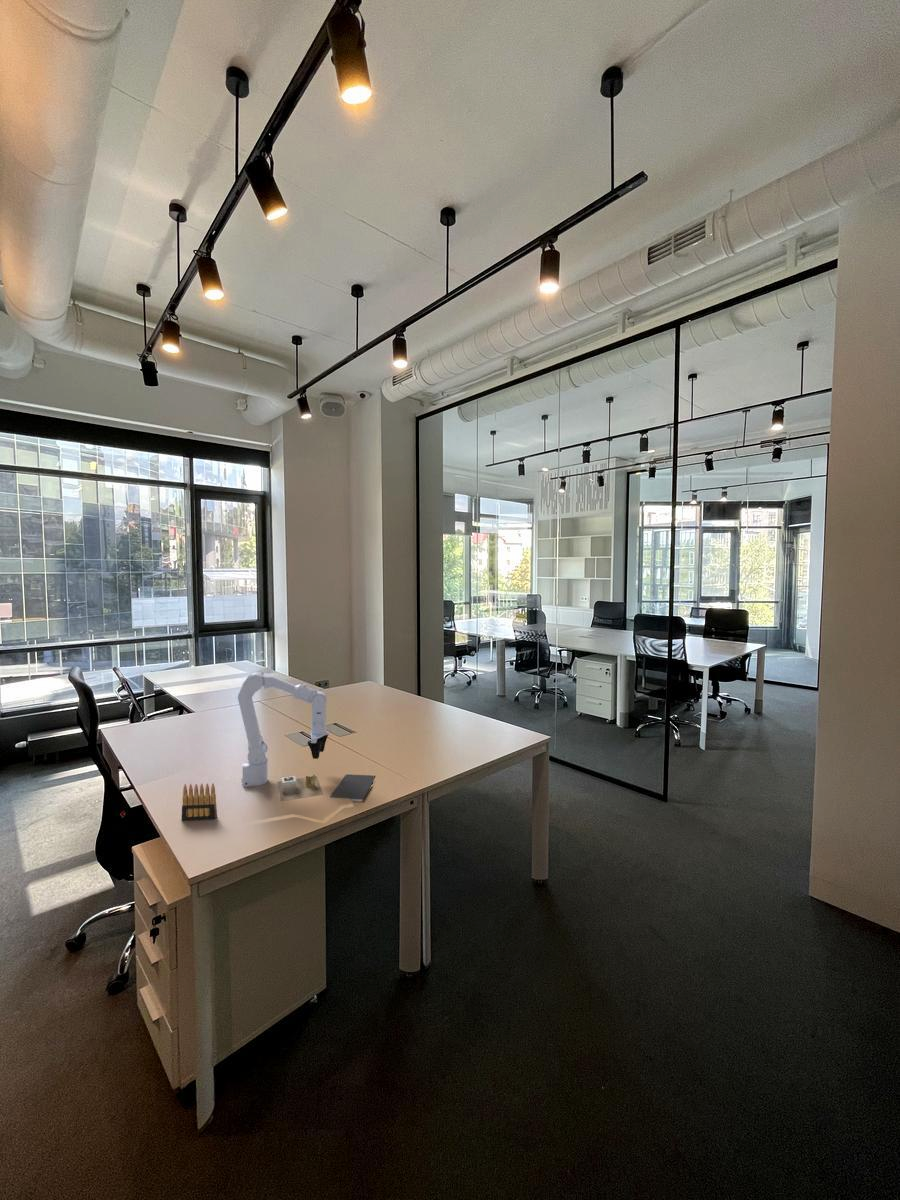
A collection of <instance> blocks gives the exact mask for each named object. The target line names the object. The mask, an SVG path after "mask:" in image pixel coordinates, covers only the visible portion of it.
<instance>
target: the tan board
mask: <svg viewBox="0 0 900 1200" xmlns="http://www.w3.org/2000/svg"><path fill="white" fill-rule="evenodd" d="M319 781H320V780H319V779H318V776H316V775H315V786H313V787H312V788H309V787H306V777H299V778H296V791H294V792H287V793H282V789H281V780H280V781H277V787H278V793H279V798H280V802H286V801H292V800H297V799H304V798H309V797H315V796H322V795H324V791H323V789H322V786H321V784H320V782H319Z"/></svg>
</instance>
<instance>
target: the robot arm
mask: <svg viewBox="0 0 900 1200" xmlns="http://www.w3.org/2000/svg"><path fill="white" fill-rule="evenodd" d="M263 686H264V687H263ZM262 687H263V689H268V688H276V689H278V690H281V691H284V692H287V693H290V694H292V697H293V698H294V699H295V700H299V701H302V702H304V703H306V704H311V708H312V709H311V712H310V713H311V714H310V715H311V719H310V721H311V725H310V729H311V731H310V737H311V738H310V740H308V741H307V745H308V748H310V752H311V757H312V759H313V760H314V759H316V760H318V759H319V758H320V753H323V752H324V751H325V748H326V742H327V739H328V737H329V735H330V734H329V731H327V709H326V708H327V696H326V693H325V692H324V691H322V690H321V689H320V690H319V689H317V688H311V687H308V686H307V684H305V683H303V684H302V683H299V684H296V685H295V684H293V683H291V682H288V681H286V680H284V679H282V678H279V677H277V676H274V675H272V674H270V673H269V672H263V671H261V670H254V671H252V672H251V673H250V674H249V675H248V676H247V677H246V679H245V681H243V683H242V685H241V688H240V690H239V693H238V695H237V700H238V701H237V702H238V705H239V710H240V714H241V717H242V718H241V719H242V721H243V726H244V730H245V733H246V734H245V735H246V739H247V751H248V753H247V760H248V761H247V762H244V763H242V777H241V783H242V788H243V787H244V788H246V787H251V786H253V787H256V786H261V785H264V784H266V783H268V782H269V781H268V780H269V779H268V777H269V776H268V775H269V774H268V771H269V769H268V768H269V767H268V766H269V765H268V762H269V761H268V758H267V756H266V754H267V752H268V745H267V744H266V742H265V741H264V739H263V736H262V735H261V731H260V727H259V726H260V725H259V721H258V718H257V712H256V710H255V705H254V701H253V697H254V695H255V693H257V692H258V691H259V690H261V689H262Z"/></svg>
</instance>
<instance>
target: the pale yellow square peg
mask: <svg viewBox="0 0 900 1200" xmlns="http://www.w3.org/2000/svg"><path fill="white" fill-rule="evenodd" d="M315 776H316V774H314V773H308V774H306V775H305V778H306V787H309V788H312V787H313V786H315Z"/></svg>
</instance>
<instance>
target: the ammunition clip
mask: <svg viewBox="0 0 900 1200" xmlns="http://www.w3.org/2000/svg"><path fill="white" fill-rule="evenodd" d="M204 791H205V792H204ZM216 797H217V795H216V787H215V784H214V783H213V782H212V784H211V787H210V786H209V783H206V785H205V788H204V784H203V783H201V784H200V787H199V786H198V783H196V784H195V786H194V789H193V785H192V783H190V784H189V787H188V786H187V784H186V783H185V784H184V786H183V790H182V806H181V819H180V820H181V822H185V821H188V822H192V821H206V820H207V821H209V820H216V819H217V817H218V809H217V800H216V799H217V798H216Z"/></svg>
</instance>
